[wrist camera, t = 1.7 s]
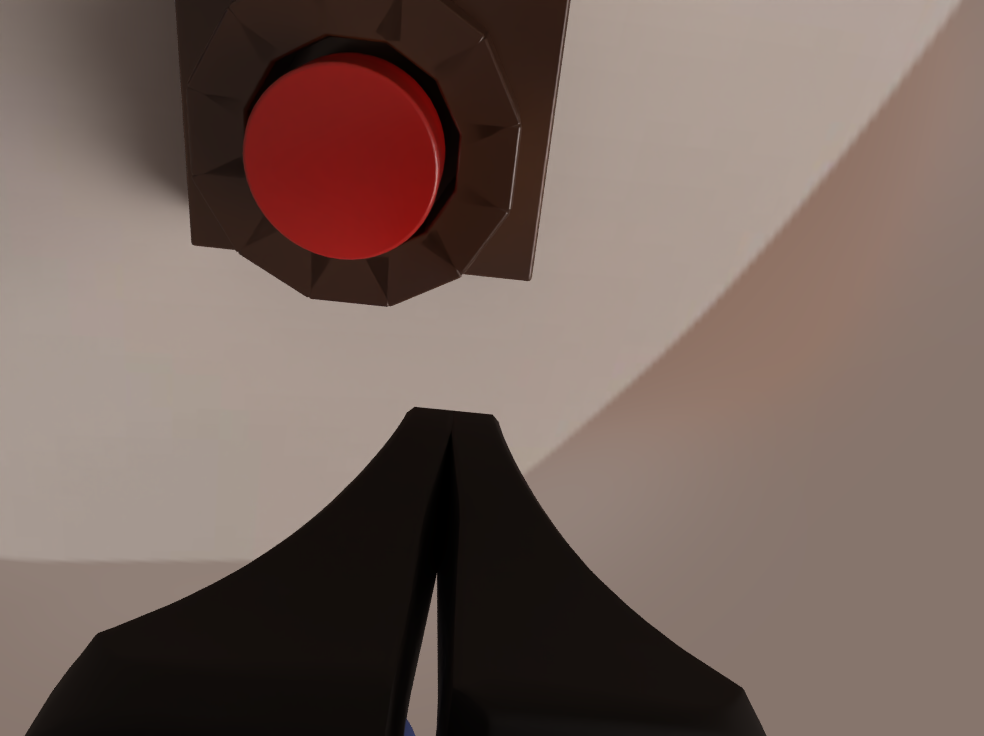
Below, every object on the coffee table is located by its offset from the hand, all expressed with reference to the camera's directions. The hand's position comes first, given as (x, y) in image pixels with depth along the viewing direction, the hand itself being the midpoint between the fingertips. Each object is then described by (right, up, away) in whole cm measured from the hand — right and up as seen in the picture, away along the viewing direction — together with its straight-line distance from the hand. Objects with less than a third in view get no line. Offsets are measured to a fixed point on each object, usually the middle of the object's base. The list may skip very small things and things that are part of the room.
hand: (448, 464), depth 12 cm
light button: (-2, +6, +3) cm, 7 cm away
